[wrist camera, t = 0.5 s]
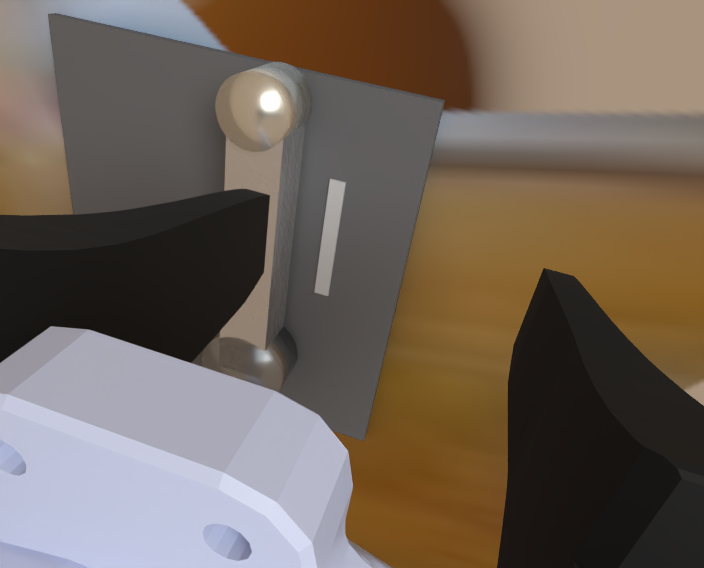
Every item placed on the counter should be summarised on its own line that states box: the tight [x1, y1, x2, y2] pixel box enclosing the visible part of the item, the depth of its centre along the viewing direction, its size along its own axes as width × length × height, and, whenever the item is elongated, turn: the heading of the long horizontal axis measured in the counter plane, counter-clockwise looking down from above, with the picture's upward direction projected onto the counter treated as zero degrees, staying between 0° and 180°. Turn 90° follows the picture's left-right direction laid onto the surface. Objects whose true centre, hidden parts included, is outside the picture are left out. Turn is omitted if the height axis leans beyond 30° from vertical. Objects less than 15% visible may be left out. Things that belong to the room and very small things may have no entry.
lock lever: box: [202, 62, 313, 392], centre depth 21 cm, size 14×4×2 cm, turn 171°
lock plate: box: [48, 13, 445, 441], centre depth 23 cm, size 16×15×1 cm
